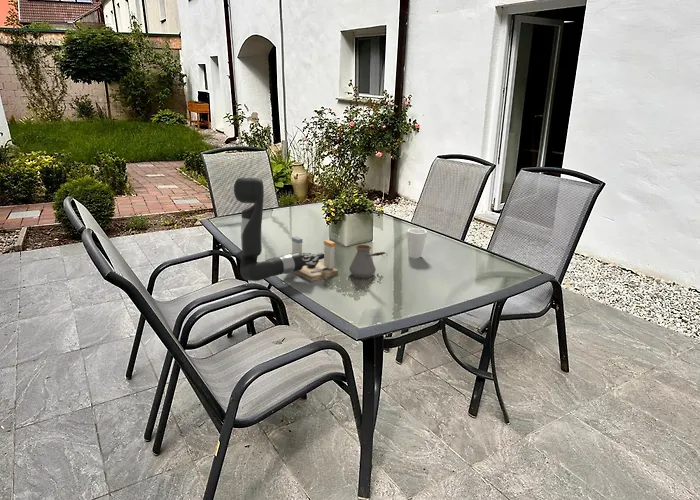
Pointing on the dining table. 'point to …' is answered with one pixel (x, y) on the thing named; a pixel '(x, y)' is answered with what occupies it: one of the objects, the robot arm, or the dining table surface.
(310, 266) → the light wood flat block
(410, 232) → the foam cup
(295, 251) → the grey topped white block
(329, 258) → the orange topped white block
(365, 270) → the coffee pot
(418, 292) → the dining table surface
